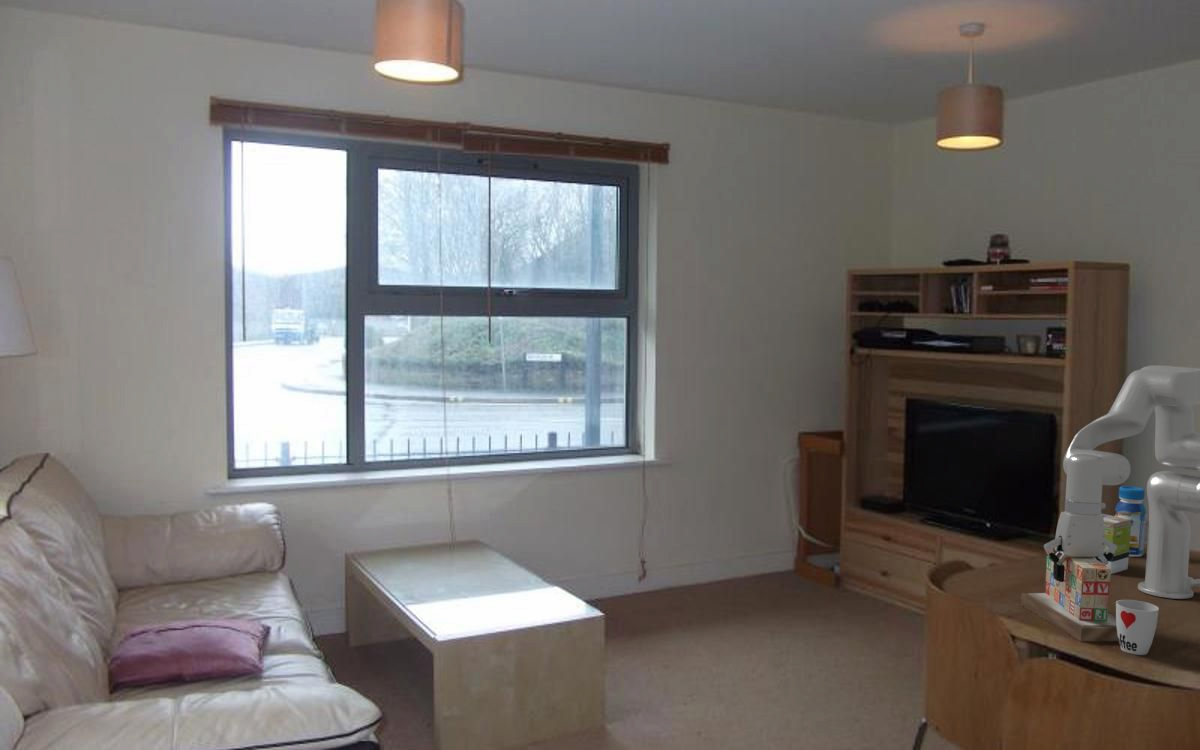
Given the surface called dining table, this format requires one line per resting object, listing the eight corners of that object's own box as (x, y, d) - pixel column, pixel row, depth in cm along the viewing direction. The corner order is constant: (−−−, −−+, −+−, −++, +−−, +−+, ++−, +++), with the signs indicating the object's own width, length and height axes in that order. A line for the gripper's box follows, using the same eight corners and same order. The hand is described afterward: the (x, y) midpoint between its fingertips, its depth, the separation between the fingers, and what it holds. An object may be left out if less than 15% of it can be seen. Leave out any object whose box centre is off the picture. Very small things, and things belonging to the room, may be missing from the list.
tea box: (1059, 562, 289) (1062, 512, 287) (1077, 558, 295) (1080, 508, 293) (1111, 575, 277) (1114, 522, 275) (1129, 569, 283) (1132, 518, 281)
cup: (1105, 644, 219) (1108, 599, 218) (1140, 644, 220) (1143, 599, 219) (1127, 657, 211) (1130, 611, 210) (1164, 657, 212) (1167, 611, 211)
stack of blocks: (1044, 592, 246) (1046, 543, 245) (1070, 594, 246) (1073, 544, 245) (1079, 620, 225) (1082, 566, 224) (1108, 622, 224) (1111, 568, 223)
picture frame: (1071, 604, 248) (1072, 591, 247) (1136, 640, 222) (1137, 626, 222) (1020, 605, 246) (1021, 592, 246) (1080, 641, 221) (1081, 626, 220)
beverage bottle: (1150, 557, 297) (1154, 490, 296) (1126, 558, 295) (1130, 491, 294) (1129, 549, 306) (1133, 485, 304) (1105, 550, 304) (1109, 485, 302)
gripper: (1108, 504, 237) (1104, 575, 238) (1038, 504, 235) (1034, 576, 236) (1128, 511, 229) (1123, 584, 231) (1055, 511, 228) (1051, 585, 229)
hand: (1078, 580), depth 233 cm, fingers open, 9 cm apart
